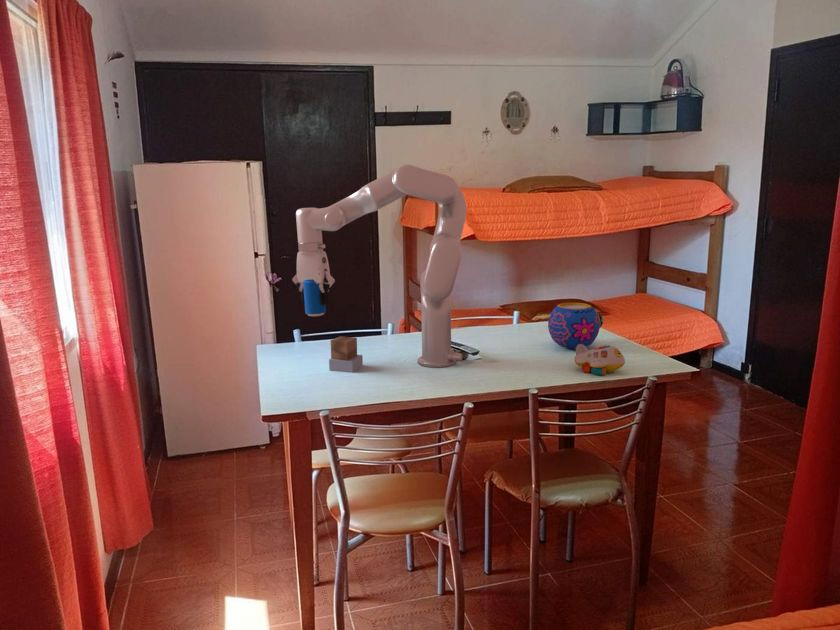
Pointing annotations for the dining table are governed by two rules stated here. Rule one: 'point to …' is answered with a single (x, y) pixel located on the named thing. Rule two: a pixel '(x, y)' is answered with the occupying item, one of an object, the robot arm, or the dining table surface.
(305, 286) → the beverage can
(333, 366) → the base block
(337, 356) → the walnut cube
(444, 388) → the dining table surface
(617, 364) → the toy airplane
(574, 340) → the ceramic pot
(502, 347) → the dining table surface
